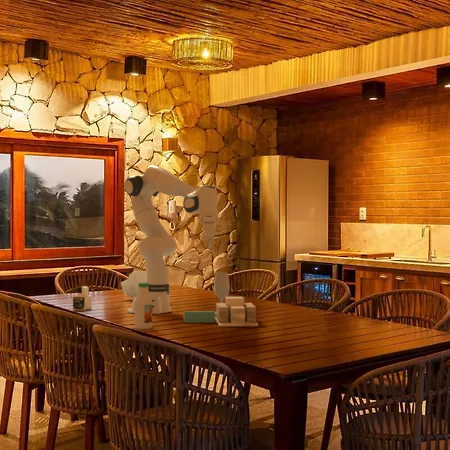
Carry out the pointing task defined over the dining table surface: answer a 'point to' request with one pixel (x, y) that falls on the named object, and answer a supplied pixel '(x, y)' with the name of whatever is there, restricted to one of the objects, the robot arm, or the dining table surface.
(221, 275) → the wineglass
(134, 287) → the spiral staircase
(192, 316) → the green flat slab
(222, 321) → the stacked beige blocks
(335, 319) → the dining table surface
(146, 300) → the milk bottle
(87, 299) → the medicine bottle
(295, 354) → the dining table surface
